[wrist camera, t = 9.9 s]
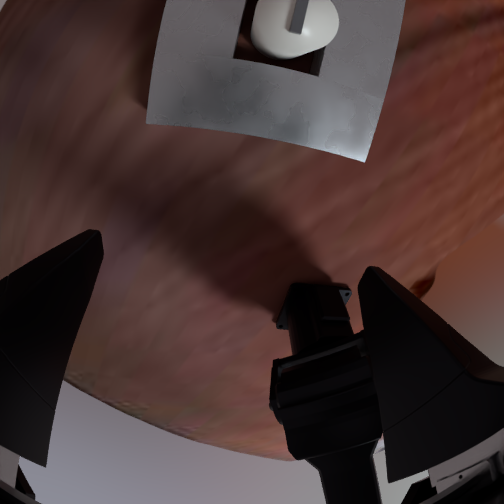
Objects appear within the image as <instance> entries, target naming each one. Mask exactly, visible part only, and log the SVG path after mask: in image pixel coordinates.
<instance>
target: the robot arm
mask: <svg viewBox="0 0 504 504" xmlns="http://www.w3.org/2000/svg"><path fill="white" fill-rule="evenodd" d="M103 256H104V250H103V243H102V236H101V233H100V231H99V230H92V229H88V230H86V231H84V232H82V233H80V234H78V235H76V236H75V237H73V238H71V239H69V240H67V241H65V242H63V243H61V244H60V245H58V246H56V247H54V248H52V249H51V250H49V251H47V252H45V253H44V254H42V255H40V256H38V257H37V258H35V259H33V260H32V261H30V262H28V263H27V264H25V265H23V266H22V267H20V268H19V269H17V270H15V271H14V272H12V273H11V274H9V276H6V277H4V278H3V279H1V280H0V504H41V503H39V502H37V501H35V494H34V492H33V490H32V489H31V487H30V485H29V483H28V481H27V480H26V478H25V476H24V474H23V472H22V470H21V468H20V466H19V464H18V462H19V457H20V456H21V457H23V458H25V459H27V460H30V461H32V462H34V463H36V464H38V465H41V466H43V467H46V464H47V457H48V449H49V442H50V436H51V431H52V425H53V420H54V415H55V409H56V405H57V401H58V396H59V392H60V388H61V384H62V381H63V377H64V374H65V370H66V367H67V363H68V360H69V357H70V354H71V350H72V347H73V344H74V341H75V338H76V336H77V333H78V330H79V327H80V324H81V322H82V319H83V316H84V314H85V311H86V308H87V306H88V303H89V301H90V298H91V295H92V292H93V289H94V285H95V282H96V279H97V276H98V273H99V269H100V266H101V263H102V260H103ZM294 288H296V289H294ZM347 292H348V293H347ZM351 295H352V291H351V289H350V288H344V287H334V286H323V285H313V284H303V283H293V284H292V285H291V286H290V289H289V291H288V294H287V296H286V299H285V302H284V304H283V307H282V309H281V312H280V314H279V317H278V319H277V322H276V328H277V329H284V330H289V336H290V343H291V349H292V356H288V357H285V358H281V359H279V358H278V359H274V360H273V367H272V371H271V384H270V397H269V400H270V403H269V407H270V410H272V411H273V412H274V414H275V417H276V419H277V420H278V422H279V423H280V424H281V425H283V426H284V430H285V435H286V440H287V446H288V451H289V452H290V453H291V454H292V456H293V457H294V458H295V459H296V460H303V459H305V460H306V461H307V462H309V463H310V464H311V465H312V466H313V467H315V468H316V469H317V470H318V471H319V474H320V478H321V482H322V487H323V491H324V495H325V499H326V504H382V500H381V494H380V489H379V483H378V478H377V473H376V469H375V464H374V459H373V453H374V451H375V448H376V446H377V443H378V440H379V439H380V438H381V436H382V433H383V437H384V446H385V455H386V467H387V479H388V483H392V482H395V481H398V480H401V479H404V478H406V477H409V476H412V475H414V474H417V473H420V472H422V471H425V470H427V469H428V473H429V476H428V477H426V478H424V479H422V480H420V481H417V482H415V483H413V484H412V485H411V487H410V488H409V490H408V492H407V494H406V496H405V498H404V499H403V501H402V503H401V504H504V367H502V366H499V365H497V364H495V363H494V362H493V361H491V360H490V359H489V358H488V357H487V356H486V355H484V354H483V353H482V352H481V351H479V350H478V349H477V348H476V347H475V346H474V345H472V344H471V343H470V342H469V341H468V340H466V339H465V338H464V337H463V336H462V335H461V334H459V333H458V332H457V331H456V330H455V329H454V328H453V327H451V326H450V325H449V324H447V322H446V321H444V320H443V319H442V318H441V317H440V316H439V315H438V314H436V313H435V312H434V311H433V310H432V309H430V308H429V307H428V306H427V305H426V304H425V303H423V302H422V301H421V300H420V299H419V298H417V297H416V296H415V295H414V294H412V293H411V292H410V291H409V290H407V289H406V288H405V287H404V286H403V285H401V284H400V283H399V282H397V281H396V280H395V279H394V278H392V277H391V276H390V275H389V274H387V273H386V272H385V271H383V270H382V269H381V268H379V267H375V266H369V267H367V268H366V270H365V272H364V274H363V276H362V278H361V280H360V281H359V284H358V295H359V301H360V308H361V314H362V321H363V327H364V330H361V331H360V332H359V333H356V334H354V332H353V330H352V327H351V324H350V321H349V320H350V317H349V314H348V311H347V308H346V306H345V305H346V303H347V302H348V300H349V298H350V296H351ZM383 431H384V432H383Z"/></svg>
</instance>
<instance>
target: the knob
mask: <svg viewBox="0 0 504 504" xmlns="http://www.w3.org/2000/svg"><path fill="white" fill-rule="evenodd" d="M338 27H339V17H338V13H337V10H336V8H335V6H334V5H333V3H332V2H331V1H330V0H259V1H258V3H257V6H256V9H255V14H254V18H253V23H252V27H251V40H252V43H253V45H254V47H255V48H256V49H257V50H258V51H259V52H260V53H261V54H263V55H264V56H266V57H268V58H271V59H274V60H289V59H292V58H295V57H298V56H300V55H303V54H306V53H308V52H311V51H314V50H317V49H320V48H322V47H324V46H326V45H327V44H328V43H330V42H331V41H332V40H333V38H334V37H335V35H336V33H337V31H338Z"/></svg>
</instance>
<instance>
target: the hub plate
mask: <svg viewBox="0 0 504 504" xmlns="http://www.w3.org/2000/svg"><path fill="white" fill-rule="evenodd" d="M247 1H248V0H167V1H166V5H165V9H164V13H163V17H162V21H161V26H160V31H159V35H158V40H157V46H156V51H155V57H154V63H153V69H152V76H151V83H150V90H149V99H148V108H147V118H146V124H159V125H173V126H185V127H195V128H204V129H212V130H220V131H227V132H234V133H240V134H247V135H253V136H258V137H264V138H269V139H274V140H279V141H284V142H289V143H293V144H298V145H302V146H307V147H311V148H315V149H319V150H323V151H327V152H331V153H334V154H338V155H342V156H345V157H349V158H352V159H356V160H359V161H362V162H365V160H366V157H367V154H368V151H369V148H370V145H371V142H372V139H373V135H374V132H375V129H376V126H377V122H378V119H379V115H380V112H381V109H382V105H383V101H384V98H385V94H386V90H387V86H388V83H389V79H390V75H391V71H392V66H393V62H394V58H395V53H396V49H397V44H398V39H399V34H400V29H401V24H402V18H403V12H404V6H405V0H330V1H331V2H332V3H333V5H334V6H335V8H336V10H337V13H338V17H339V27H338V31H337V33H336V35H335V37H334V38H333V40H332V41H331V42H330V43H328V44H327V45H326V46H324V47H322V48H320V49H317V50H315V52H314V56H313V60H312V64H311V69H310V73H309V74H306V73H303V72H299V71H295V70H291V69H286V68H282V67H278V66H273V65H268V64H263V63H257V62H252V61H246V60H239V59H234V56H235V52H236V47H237V43H238V38H239V34H240V29H241V25H242V21H243V17H244V13H245V9H246V5H247Z"/></svg>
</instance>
